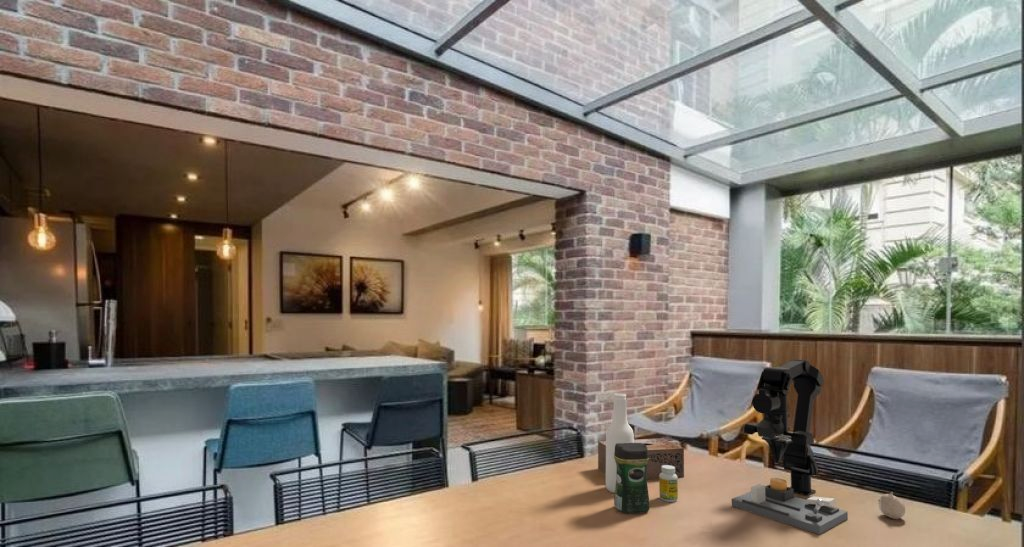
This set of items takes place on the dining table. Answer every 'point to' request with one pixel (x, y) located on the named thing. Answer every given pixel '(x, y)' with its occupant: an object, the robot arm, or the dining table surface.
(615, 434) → the alcohol
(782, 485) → the push button
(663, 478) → the supplement bottle
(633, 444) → the coffee jar
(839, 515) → the panel
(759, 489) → the grey angular block
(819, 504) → the toggle lever
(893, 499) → the garlic bulb
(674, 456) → the tissue box cover
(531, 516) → the dining table surface
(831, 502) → the white slab
